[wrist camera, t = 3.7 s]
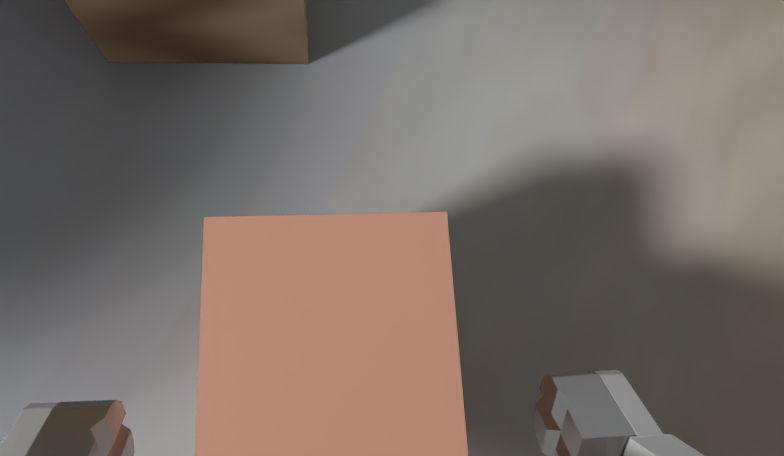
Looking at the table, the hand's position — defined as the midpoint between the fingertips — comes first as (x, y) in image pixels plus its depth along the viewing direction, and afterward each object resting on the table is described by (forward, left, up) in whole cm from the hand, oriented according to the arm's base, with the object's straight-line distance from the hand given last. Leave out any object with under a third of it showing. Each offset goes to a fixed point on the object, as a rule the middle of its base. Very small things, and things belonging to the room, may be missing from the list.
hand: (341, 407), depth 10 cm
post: (0, +1, -6) cm, 7 cm away
